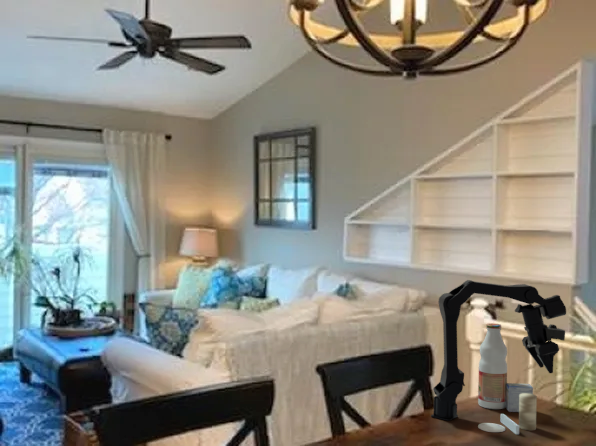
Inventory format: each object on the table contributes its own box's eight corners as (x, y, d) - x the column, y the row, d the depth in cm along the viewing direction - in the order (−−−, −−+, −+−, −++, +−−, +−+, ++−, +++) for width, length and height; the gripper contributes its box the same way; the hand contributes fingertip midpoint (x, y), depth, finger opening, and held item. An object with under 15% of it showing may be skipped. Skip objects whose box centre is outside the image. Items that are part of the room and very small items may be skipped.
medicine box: (529, 409, 225) (530, 383, 225) (532, 413, 221) (533, 387, 221) (505, 408, 226) (506, 382, 226) (508, 412, 222) (508, 386, 222)
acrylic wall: (500, 421, 211) (500, 413, 211) (503, 421, 211) (503, 413, 211) (515, 434, 199) (516, 426, 199) (519, 434, 199) (519, 426, 199)
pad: (473, 428, 204) (473, 427, 204) (484, 422, 210) (484, 421, 210) (498, 434, 199) (498, 433, 199) (509, 427, 205) (509, 426, 205)
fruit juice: (491, 411, 222) (493, 327, 222) (472, 403, 231) (473, 323, 230) (512, 407, 227) (514, 325, 226) (492, 400, 235) (494, 321, 235)
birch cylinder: (516, 427, 205) (516, 395, 205) (522, 424, 209) (523, 392, 209) (532, 431, 202) (533, 398, 202) (538, 427, 206) (539, 395, 206)
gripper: (569, 320, 205) (582, 370, 205) (549, 313, 224) (561, 358, 223) (533, 329, 206) (546, 378, 205) (516, 321, 224) (528, 366, 224)
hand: (546, 370), depth 214 cm, fingers open, 9 cm apart
